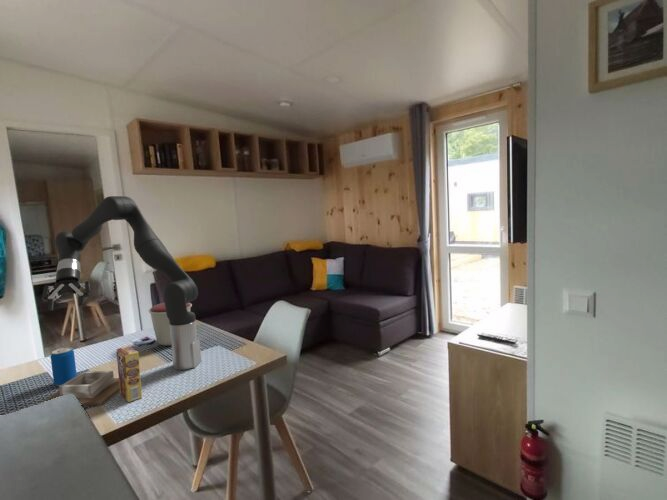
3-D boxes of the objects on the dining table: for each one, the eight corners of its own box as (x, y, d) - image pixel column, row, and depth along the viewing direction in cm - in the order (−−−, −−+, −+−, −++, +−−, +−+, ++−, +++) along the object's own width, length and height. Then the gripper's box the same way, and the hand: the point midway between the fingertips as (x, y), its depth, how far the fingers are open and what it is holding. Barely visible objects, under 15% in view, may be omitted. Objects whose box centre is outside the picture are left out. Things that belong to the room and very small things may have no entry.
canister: (156, 338, 164) (152, 295, 162) (196, 332, 169) (192, 291, 167) (147, 351, 147) (143, 304, 144) (192, 345, 152) (188, 299, 150)
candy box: (143, 397, 108) (138, 351, 107) (128, 403, 105) (123, 356, 104) (134, 388, 114) (129, 345, 113) (119, 393, 111) (115, 349, 110)
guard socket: (133, 380, 120) (131, 366, 120) (101, 405, 104) (99, 390, 104) (78, 381, 121) (76, 368, 120) (38, 407, 105) (36, 391, 104)
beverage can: (74, 376, 125) (70, 345, 124) (79, 381, 121) (75, 349, 120) (52, 383, 120) (48, 351, 119) (56, 389, 116) (52, 355, 115)
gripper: (43, 268, 128) (38, 305, 120) (89, 265, 135) (87, 299, 126) (48, 280, 133) (43, 315, 125) (92, 276, 140) (90, 310, 132)
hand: (65, 307), depth 126 cm, fingers open, 8 cm apart
